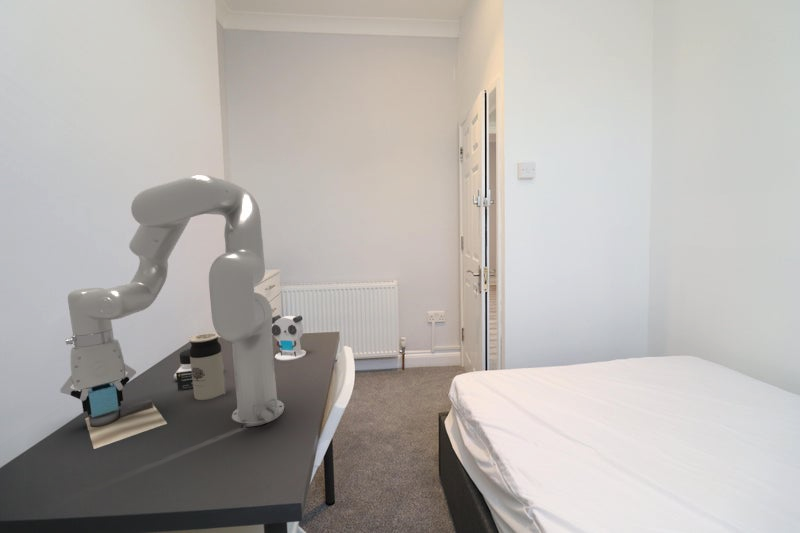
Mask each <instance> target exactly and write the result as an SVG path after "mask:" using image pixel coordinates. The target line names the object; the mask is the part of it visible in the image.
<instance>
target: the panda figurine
mask: <svg viewBox="0 0 800 533" xmlns="http://www.w3.org/2000/svg"><path fill="white" fill-rule="evenodd" d="M302 321H303V316H302V315H297V316H294V315H285V316H281V315H280V314H278V315H275V316H272V336H273V337H274V338H275V339H276V341H277V342H276V346H277V347H278V348H279V350H280V352H278V353H276V354H275V355H274V359H276V360H278V361H292V360H298V359H300V358H303V357H305V356H306V354H307V351H306V350H304V349H302V346H301V337H302V336H303V334H304V326H303V323H302Z"/></svg>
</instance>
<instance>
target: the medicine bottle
mask: <svg viewBox="0 0 800 533" xmlns="http://www.w3.org/2000/svg"><path fill="white" fill-rule="evenodd" d="M189 350H190V348H189V349H185V350H183V351H181V352H180V353H179V362H180V363H179V364H180V366H179V368H178V369H177V370H176V372H175V373H176V376H177V380H176V383H177V391H178V392H181V391H182V392H183V391H188V390H194V389H193V380H192V371H191V362H190V353H189Z"/></svg>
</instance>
